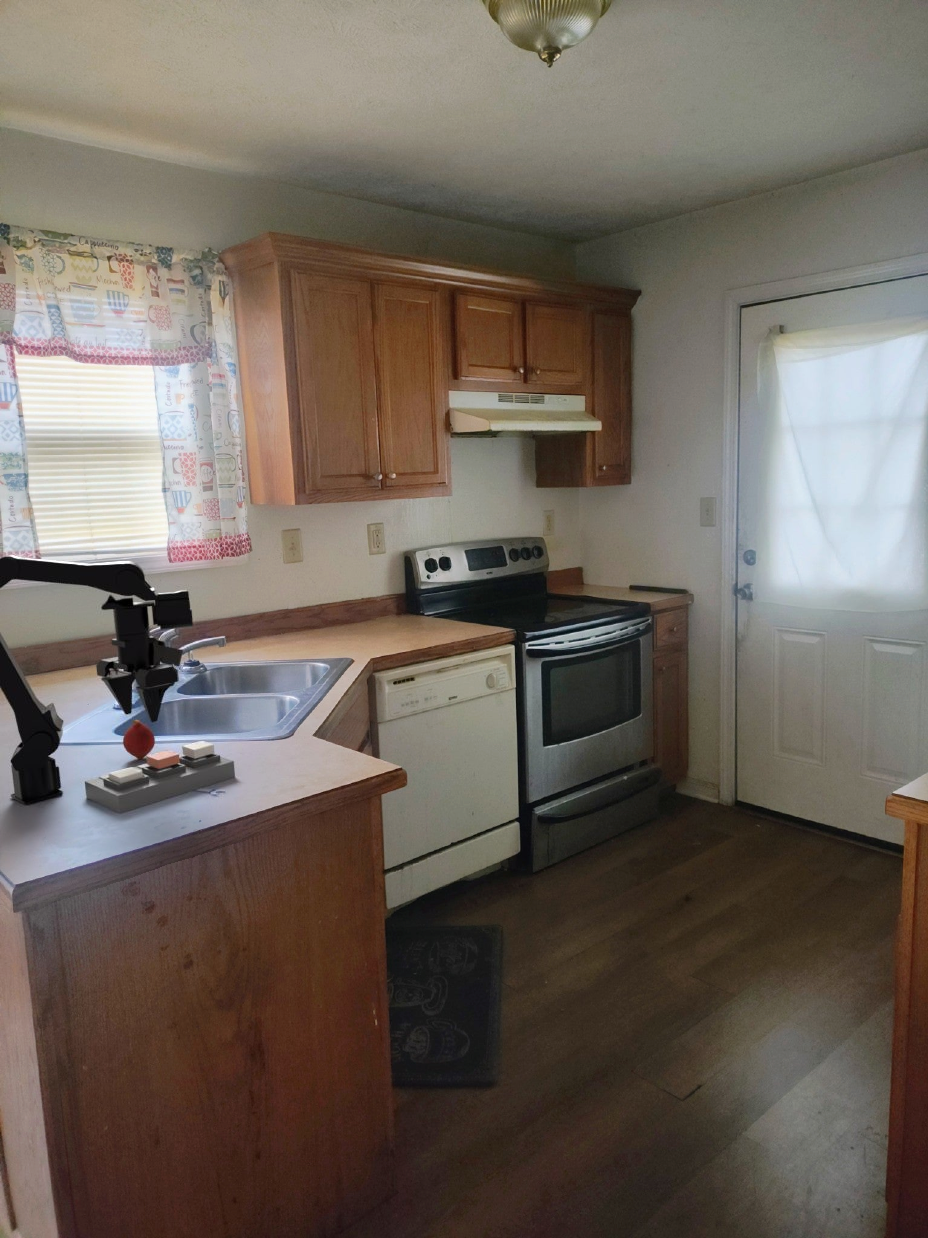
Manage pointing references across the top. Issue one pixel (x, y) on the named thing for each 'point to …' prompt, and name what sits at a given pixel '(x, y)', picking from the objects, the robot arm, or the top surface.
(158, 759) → the button middle
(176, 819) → the top surface
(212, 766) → the button panel
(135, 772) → the button left
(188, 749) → the button right
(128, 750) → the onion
